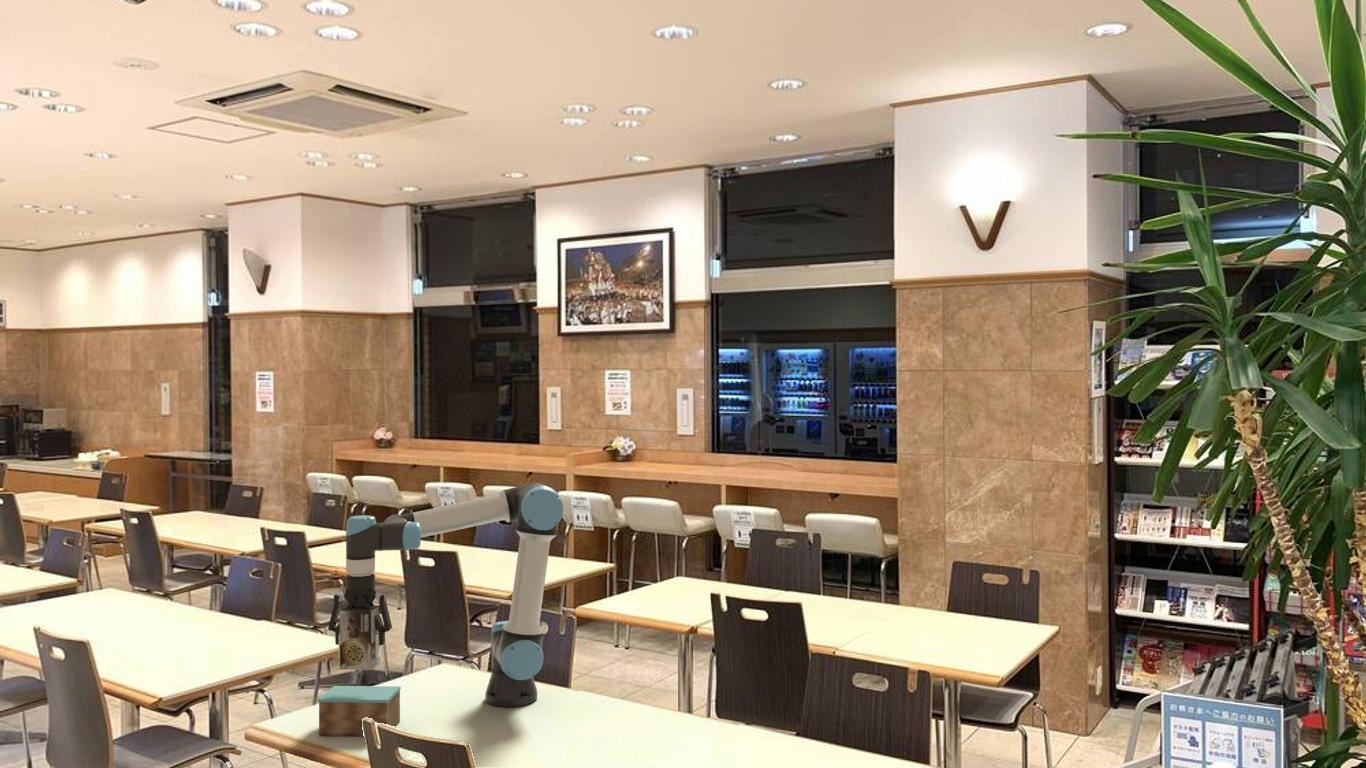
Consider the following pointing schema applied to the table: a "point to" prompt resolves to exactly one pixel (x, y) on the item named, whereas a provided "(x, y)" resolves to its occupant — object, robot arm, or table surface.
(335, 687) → the lid
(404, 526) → the robot arm
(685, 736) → the table surface
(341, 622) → the coffee box
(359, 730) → the box
